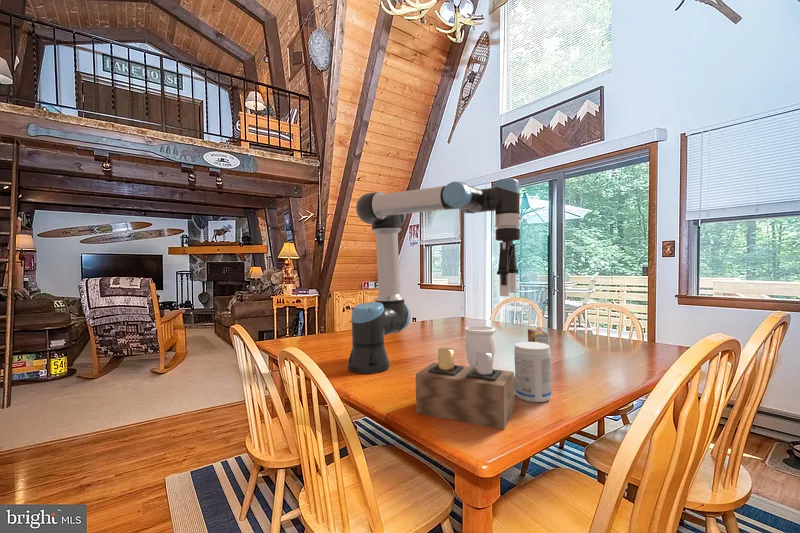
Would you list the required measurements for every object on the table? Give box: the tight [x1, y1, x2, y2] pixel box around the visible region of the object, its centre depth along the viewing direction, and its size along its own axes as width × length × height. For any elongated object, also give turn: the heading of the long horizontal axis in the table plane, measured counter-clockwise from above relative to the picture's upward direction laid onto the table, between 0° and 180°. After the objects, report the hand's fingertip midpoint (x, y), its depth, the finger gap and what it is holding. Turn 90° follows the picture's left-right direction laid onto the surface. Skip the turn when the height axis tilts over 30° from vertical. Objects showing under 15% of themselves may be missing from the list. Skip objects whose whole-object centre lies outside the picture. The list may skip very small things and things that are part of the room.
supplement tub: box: [514, 341, 552, 403], centre depth 105 cm, size 10×10×15 cm
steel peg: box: [476, 351, 493, 377], centre depth 93 cm, size 4×4×10 cm
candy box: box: [527, 328, 549, 345], centre depth 123 cm, size 9×4×15 cm, turn 177°
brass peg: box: [437, 347, 455, 372], centre depth 97 cm, size 4×4×10 cm
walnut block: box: [415, 362, 515, 430], centre depth 95 cm, size 22×12×11 cm, turn 63°
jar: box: [464, 325, 497, 367], centre depth 131 cm, size 11×10×15 cm
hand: (508, 294), depth 120 cm, fingers open, 13 cm apart
